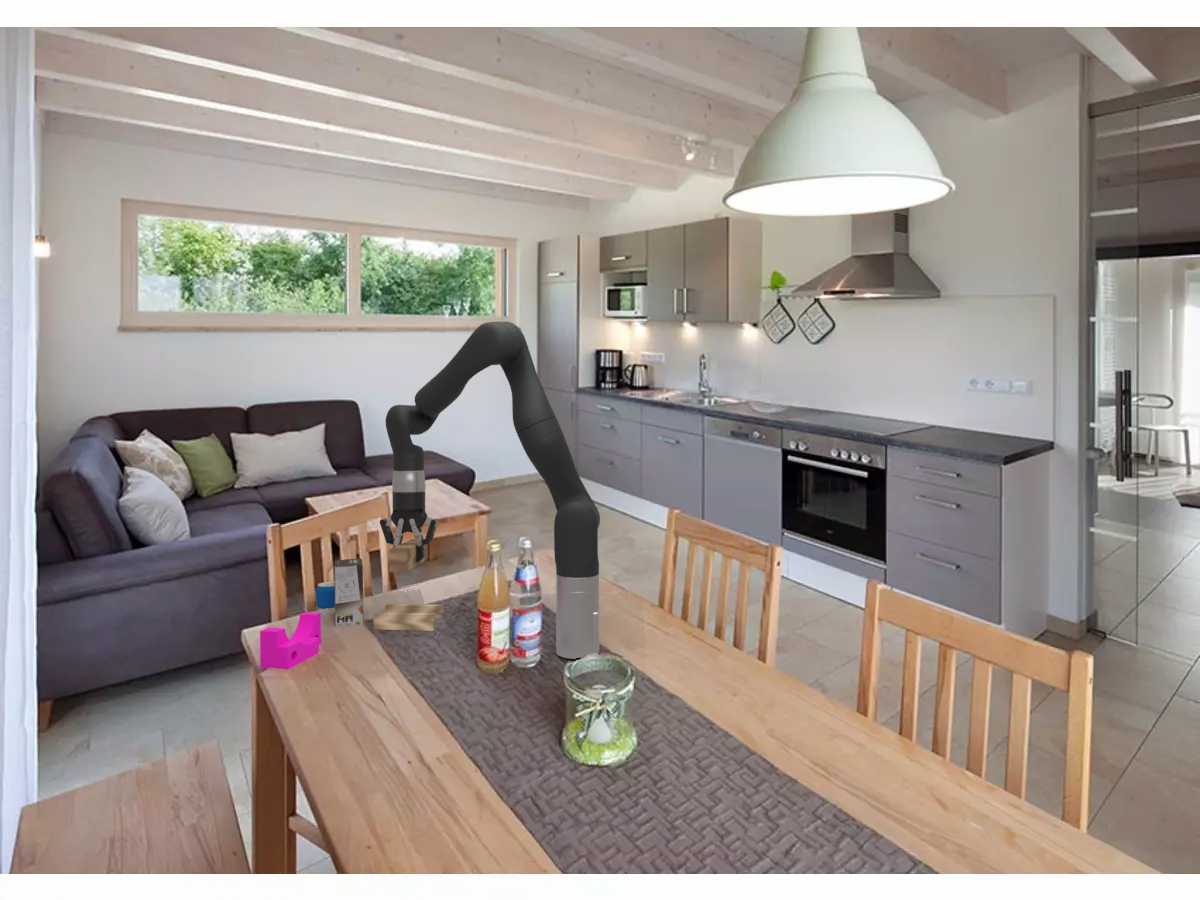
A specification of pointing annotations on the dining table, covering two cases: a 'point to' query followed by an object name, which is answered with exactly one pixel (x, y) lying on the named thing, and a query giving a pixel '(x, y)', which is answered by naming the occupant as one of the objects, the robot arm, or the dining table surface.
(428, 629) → the rail stand
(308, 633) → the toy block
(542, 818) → the dining table surface
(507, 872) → the dining table surface
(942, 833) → the dining table surface
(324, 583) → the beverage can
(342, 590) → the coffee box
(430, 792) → the dining table surface
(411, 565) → the walnut beam
